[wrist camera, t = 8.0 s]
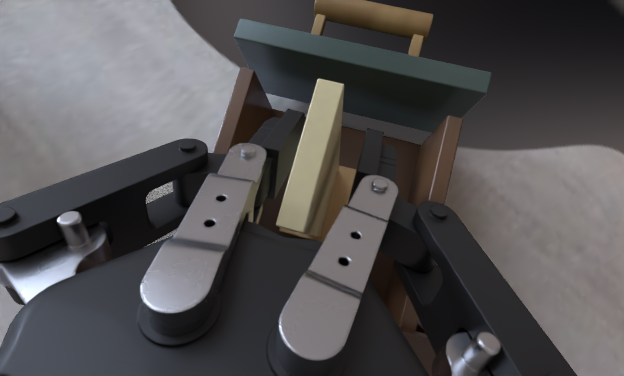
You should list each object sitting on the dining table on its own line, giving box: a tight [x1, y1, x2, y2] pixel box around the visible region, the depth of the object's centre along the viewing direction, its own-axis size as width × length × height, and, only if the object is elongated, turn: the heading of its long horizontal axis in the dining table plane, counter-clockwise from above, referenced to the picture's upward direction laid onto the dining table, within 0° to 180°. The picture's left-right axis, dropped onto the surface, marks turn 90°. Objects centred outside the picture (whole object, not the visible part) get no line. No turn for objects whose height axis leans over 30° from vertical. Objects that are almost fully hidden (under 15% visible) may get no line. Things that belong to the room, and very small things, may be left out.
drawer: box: [213, 0, 492, 331], centre depth 20 cm, size 21×14×7 cm, turn 165°
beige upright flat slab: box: [276, 79, 356, 242], centre depth 16 cm, size 5×4×13 cm
